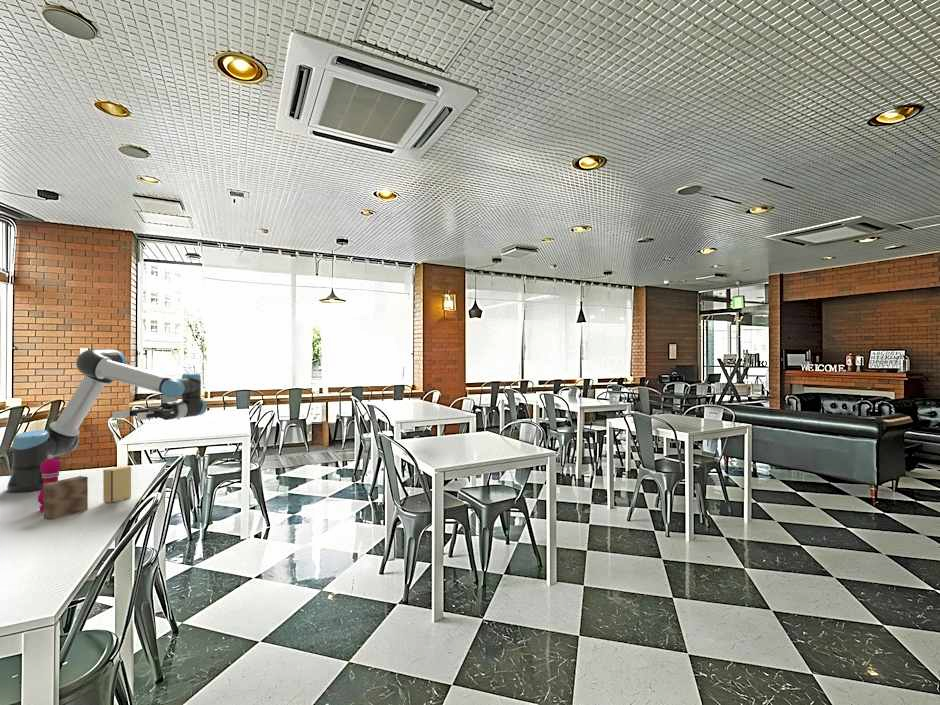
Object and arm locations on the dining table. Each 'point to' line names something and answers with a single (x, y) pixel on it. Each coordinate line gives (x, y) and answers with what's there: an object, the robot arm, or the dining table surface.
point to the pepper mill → (48, 475)
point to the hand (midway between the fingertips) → (125, 416)
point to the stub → (116, 484)
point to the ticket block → (65, 497)
